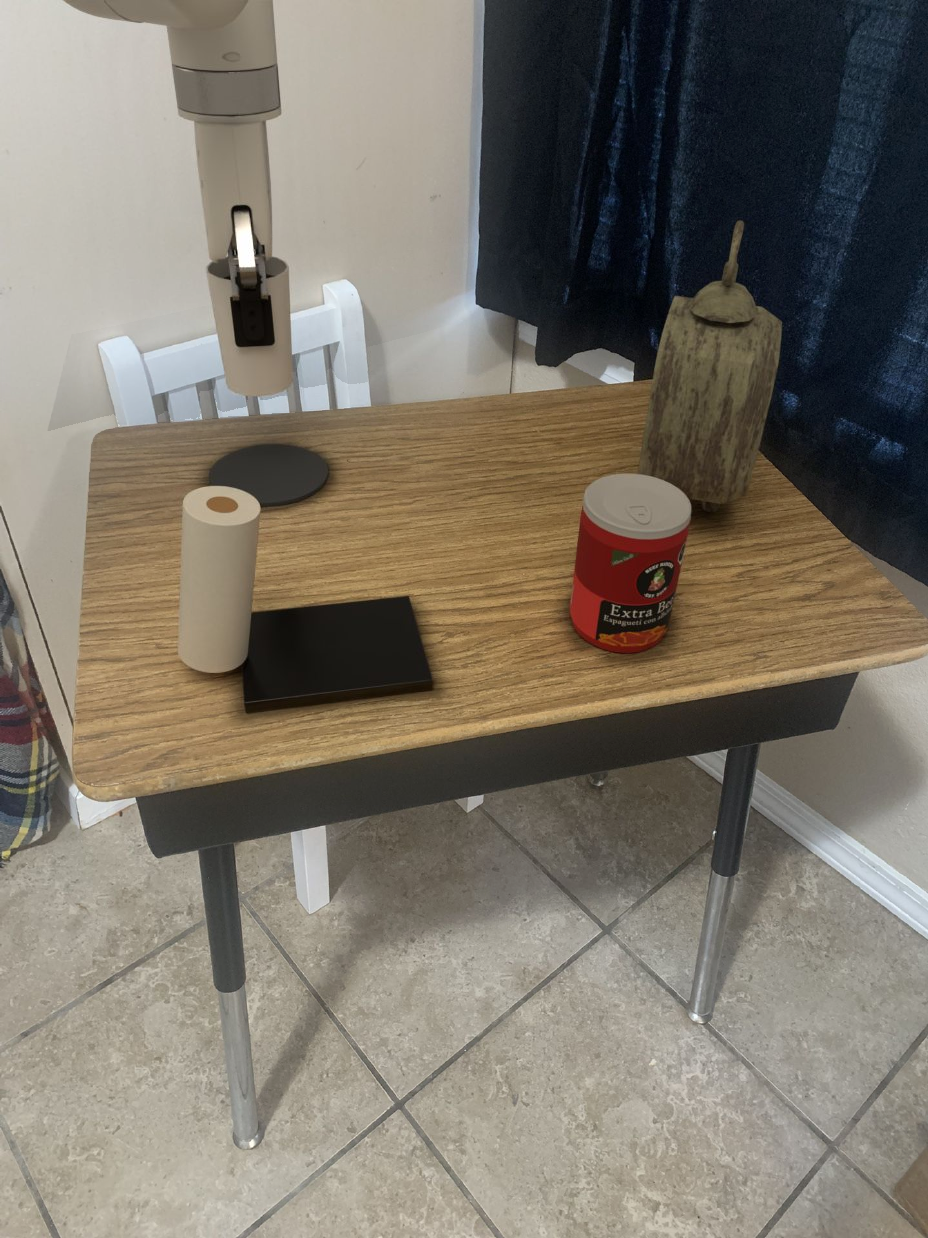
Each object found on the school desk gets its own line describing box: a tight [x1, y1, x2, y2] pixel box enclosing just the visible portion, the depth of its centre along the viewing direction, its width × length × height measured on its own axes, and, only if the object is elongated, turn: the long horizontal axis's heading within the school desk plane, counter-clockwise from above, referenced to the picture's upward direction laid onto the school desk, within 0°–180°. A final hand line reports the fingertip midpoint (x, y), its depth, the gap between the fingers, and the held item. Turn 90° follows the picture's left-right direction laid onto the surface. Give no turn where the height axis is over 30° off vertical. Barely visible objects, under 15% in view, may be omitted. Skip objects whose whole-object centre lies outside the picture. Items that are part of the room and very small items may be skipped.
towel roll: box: [177, 485, 262, 674], centre depth 66 cm, size 12×5×5 cm
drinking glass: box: [205, 254, 294, 398], centre depth 83 cm, size 7×7×10 cm
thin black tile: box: [241, 595, 434, 714], centre depth 71 cm, size 13×10×1 cm
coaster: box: [208, 443, 329, 508], centre depth 92 cm, size 11×11×1 cm
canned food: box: [569, 473, 692, 654], centre depth 72 cm, size 8×8×11 cm
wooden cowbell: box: [637, 220, 783, 514], centre depth 82 cm, size 14×9×25 cm, turn 164°
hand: (253, 327), depth 83 cm, fingers closed on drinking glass, 5 cm apart
